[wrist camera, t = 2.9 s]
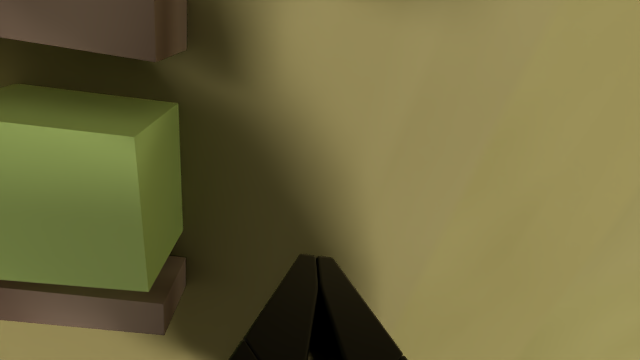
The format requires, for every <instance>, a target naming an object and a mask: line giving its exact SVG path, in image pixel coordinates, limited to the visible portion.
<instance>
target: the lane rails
mask: <svg viewBox="0 0 640 360" xmlns="http://www.w3.org/2000/svg"><path fill="white" fill-rule="evenodd" d="M0 37H2V38H8V39H14V40H21V41H27V42H33V43H39V44H46V45H52V46H58V47H64V48H70V49H77V50H83V51H89V52H95V53H102V54H108V55H114V56H120V57H126V58H133V59H139V60H145V61H151V62H158V61H160V60H163V59H165V58H167V57H170V56H172V55H175V54H177V53H180V52H182V51H185V50H187V0H0ZM185 287H186V258H185V257H177V256H168V258H167V260H166V262H165V264H164V265H163V267H162V269H161V271H160V272H159V274H158V276H157V278H156V280H155V281H154V283H153V285H152V287H151V289H150V290H149V292H142V291H130V290H118V289H106V288H94V287H82V286H70V285H58V284H46V283H34V282H22V281H10V280H0V320H7V321H18V322H28V323H39V324H50V325H60V326H71V327H82V328H92V329H103V330H114V331H124V332H135V333H146V334H156V335H165V333H166V330H167V328H168V326H169V323H170V321H171V319H172V317H173V314H174V312H175V310H176V307H177V305H178V303H179V300H180V298H181V296H182V294H183V291H184V289H185Z"/></svg>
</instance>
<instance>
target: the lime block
mask: <svg viewBox="0 0 640 360" xmlns="http://www.w3.org/2000/svg"><path fill="white" fill-rule="evenodd" d="M182 231H183V214H182V188H181V161H180V135H179V108H178V103H173V102H165V101H156V100H148V99H140V98H132V97H124V96H115V95H107V94H99V93H91V92H83V91H74V90H66V89H58V88H50V87H42V86H33V85H25V84H17V83H16V84H13V85H9V86H6V87H2V88H0V280H10V281H22V282H34V283H46V284H58V285H70V286H82V287H94V288H106V289H118V290H130V291H142V292H149V290H150V289H151V287H152V285H153V283H154V281H155V280H156V278H157V276H158V274H159V272H160V271H161V269H162V267H163V265H164V264H165V262H166V260H167V258H168V256H169V255H170V253H171V251H172V249H173V247H174V246H175V244H176V242H177V240H178V238H179V237H180V235H181V233H182Z"/></svg>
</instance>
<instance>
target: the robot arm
mask: <svg viewBox="0 0 640 360" xmlns="http://www.w3.org/2000/svg"><path fill="white" fill-rule="evenodd" d="M229 360H407V358H406V357H405V356H403V353H402V352H401V350H400V349H399V348H398V346H397V345H396V343H395V342H394V341H393V339H392V338H391V337H390V335H389V334H388V333H387V331H386V330H385V328H384V327H383V326H382V324H381V323H380V322H379V320H378V319H377V318H376V316H375V315H374V313H373V312H372V311H371V309H370V308H369V307H368V305H367V304H366V303H365V301H364V300H363V298H362V297H361V296H360V294H359V293H358V292H357V290H356V289H355V288H354V286H353V285H352V283H351V282H350V281H349V279H348V278H347V277H346V275H345V274H344V273H343V271H342V270H341V268H340V267H339V266H338V264H337V263H336V262H335V260H334V259H333V258H331V257H324V256H318V257H317V258H316V257H315V256H314V255H307V254H300V255H299V256H298V258H297V259H296V261H295V262H294V264H293V265H292V267H291V268H290V270H289V271H288V273H287V274H286V276H285V277H284V279H283V280H282V282H281V283H280V285H279V286H278V288H277V289H276V291H275V292H274V294H273V295H272V297H271V298H270V299H269V301H268V302H267V304H266V305H265V307H264V308H263V310H262V311H261V313H260V314H259V316H258V317H257V319H256V320H255V322H254V323H253V325H252V326H251V328H250V329H249V331H248V332H247V334H246V335H245V337H244V338H243V341H241V342H240V344H239V345H238V347H237V348H236V350H235V351H234V353H233V354H232V355H231V357H230V358H229Z"/></svg>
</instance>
